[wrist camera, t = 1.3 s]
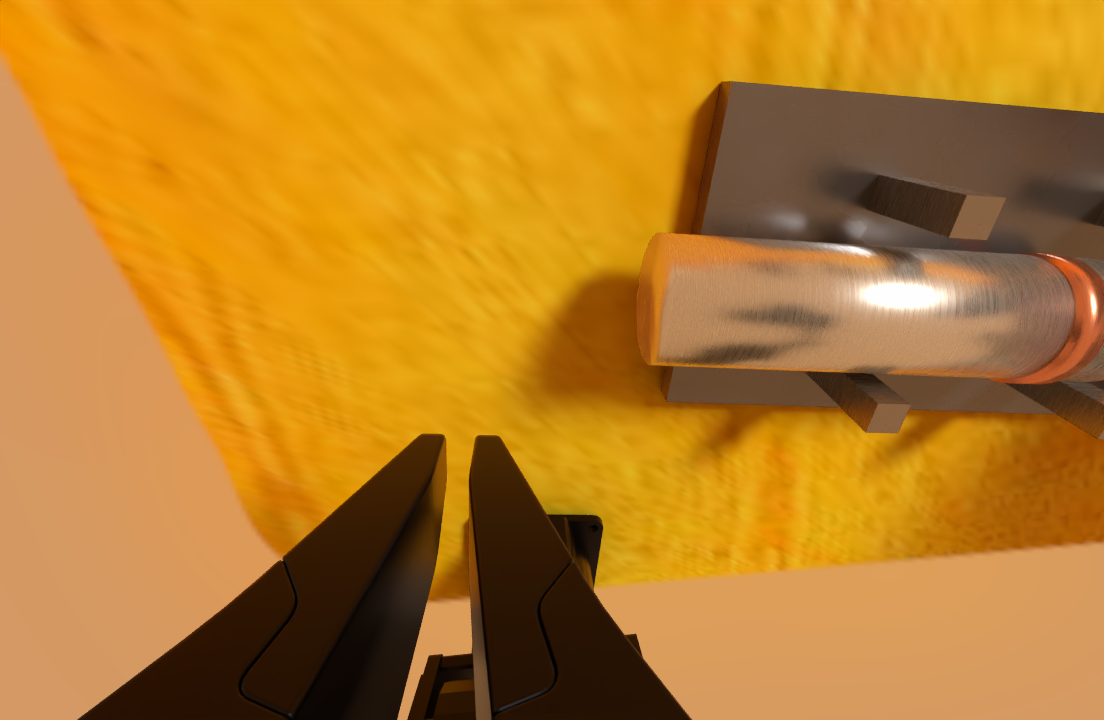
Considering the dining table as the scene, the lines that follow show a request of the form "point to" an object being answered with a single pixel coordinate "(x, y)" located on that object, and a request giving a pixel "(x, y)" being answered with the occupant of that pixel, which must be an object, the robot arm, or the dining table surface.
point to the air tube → (870, 309)
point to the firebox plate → (899, 221)
